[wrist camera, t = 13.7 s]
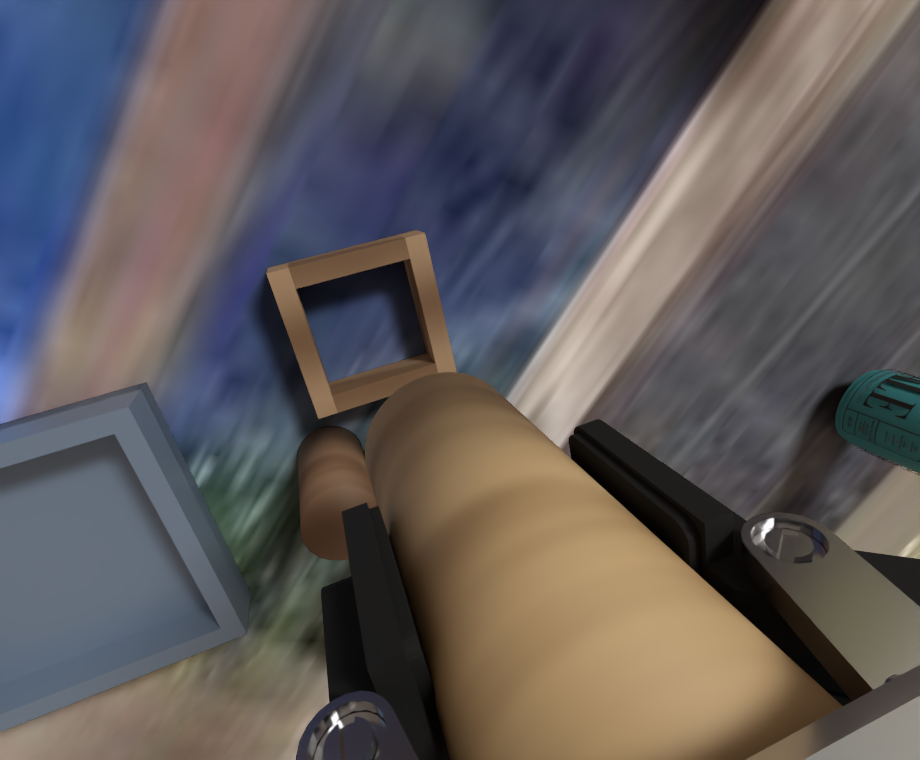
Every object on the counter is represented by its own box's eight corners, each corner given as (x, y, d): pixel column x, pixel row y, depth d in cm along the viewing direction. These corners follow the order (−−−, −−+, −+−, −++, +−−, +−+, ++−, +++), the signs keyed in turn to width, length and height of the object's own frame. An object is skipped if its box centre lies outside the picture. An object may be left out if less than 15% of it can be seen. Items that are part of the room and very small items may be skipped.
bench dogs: (494, 427, 32) (544, 484, 26) (309, 491, 30) (315, 571, 23) (483, 375, 31) (534, 421, 24) (288, 438, 28) (289, 508, 22)
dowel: (524, 483, 16) (1019, 1074, 5) (388, 534, 15) (638, 1381, 4) (499, 352, 14) (1150, 818, 3) (344, 401, 13) (569, 1233, 3)
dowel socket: (446, 363, 30) (457, 374, 28) (316, 404, 28) (318, 418, 26) (415, 230, 27) (424, 232, 25) (267, 268, 25) (266, 273, 23)
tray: (250, 592, 31) (246, 634, 28) (-14, 693, 28) (-48, 751, 25) (146, 382, 25) (128, 406, 22) (-197, 480, 22) (-268, 523, 19)
